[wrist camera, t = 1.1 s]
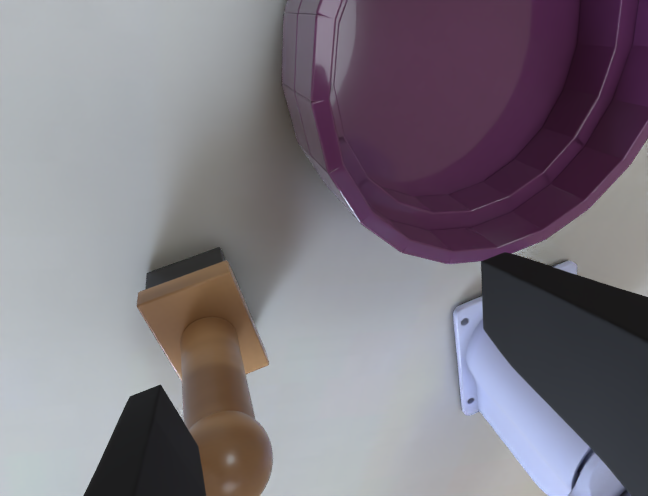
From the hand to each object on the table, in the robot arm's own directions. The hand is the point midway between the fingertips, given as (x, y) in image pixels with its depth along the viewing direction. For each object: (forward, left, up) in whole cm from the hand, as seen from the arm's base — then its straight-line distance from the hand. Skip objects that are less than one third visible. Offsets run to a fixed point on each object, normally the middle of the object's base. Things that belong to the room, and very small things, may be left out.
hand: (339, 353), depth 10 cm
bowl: (+3, -9, -10) cm, 14 cm away
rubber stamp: (-4, +4, -10) cm, 12 cm away
